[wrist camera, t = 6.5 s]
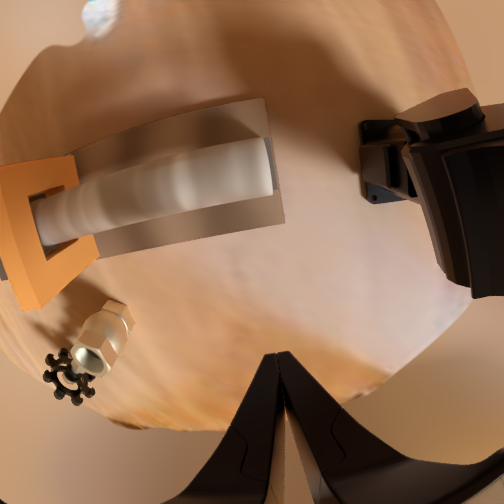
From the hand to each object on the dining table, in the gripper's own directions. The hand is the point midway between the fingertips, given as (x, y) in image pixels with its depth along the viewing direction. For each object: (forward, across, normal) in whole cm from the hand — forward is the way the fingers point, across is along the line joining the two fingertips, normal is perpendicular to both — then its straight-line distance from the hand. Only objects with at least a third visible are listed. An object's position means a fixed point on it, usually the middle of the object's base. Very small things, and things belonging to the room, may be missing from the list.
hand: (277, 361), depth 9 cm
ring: (+11, +13, -6) cm, 18 cm away
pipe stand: (+13, +8, -6) cm, 16 cm away
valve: (+13, +17, +7) cm, 23 cm away
